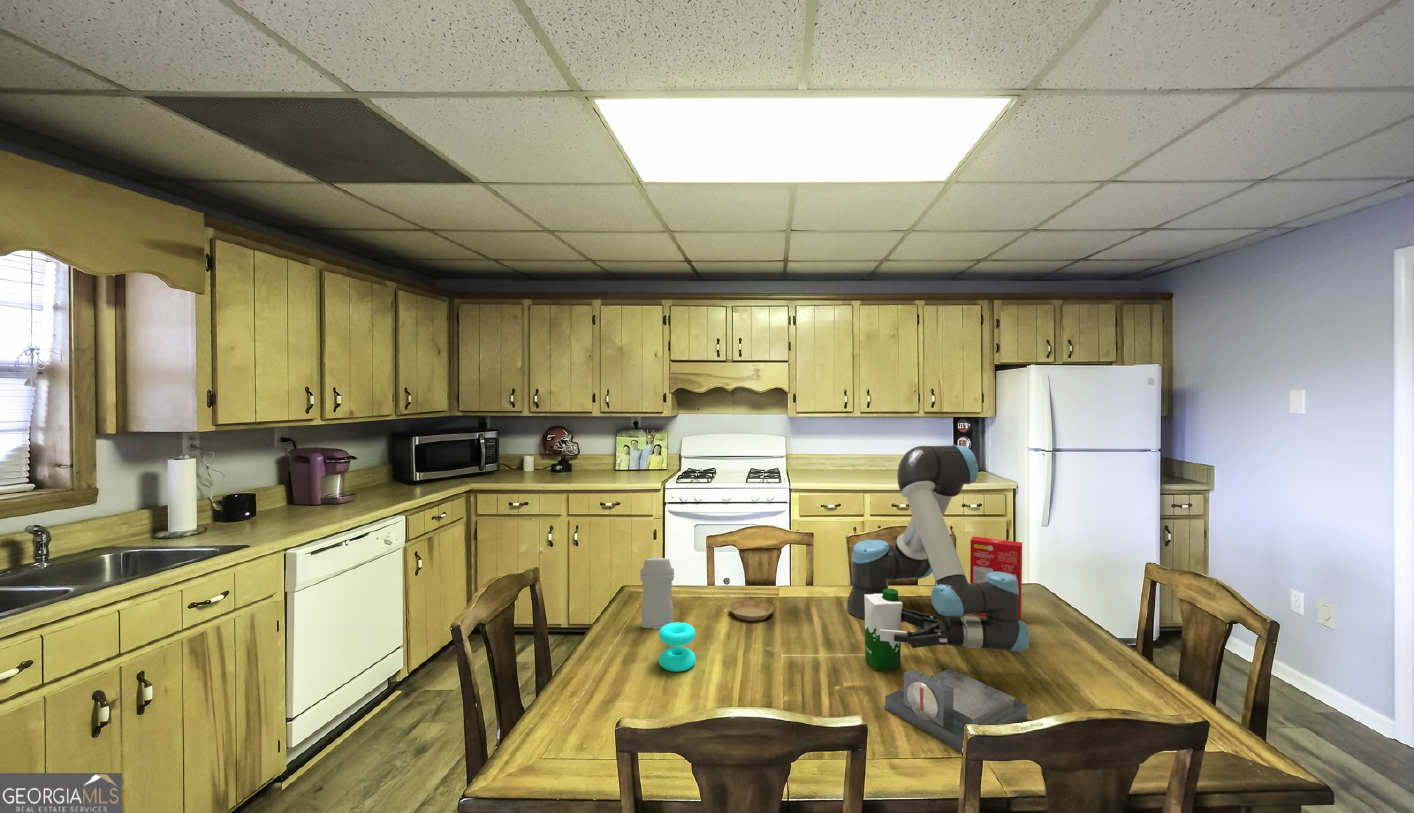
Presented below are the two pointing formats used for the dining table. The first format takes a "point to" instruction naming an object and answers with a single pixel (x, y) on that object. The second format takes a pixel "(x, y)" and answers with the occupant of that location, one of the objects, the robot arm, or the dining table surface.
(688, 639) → the donuts
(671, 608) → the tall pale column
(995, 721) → the scale
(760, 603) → the plant saucer
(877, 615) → the soya milk
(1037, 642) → the dining table surface
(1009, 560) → the food packaging
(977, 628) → the robot arm
